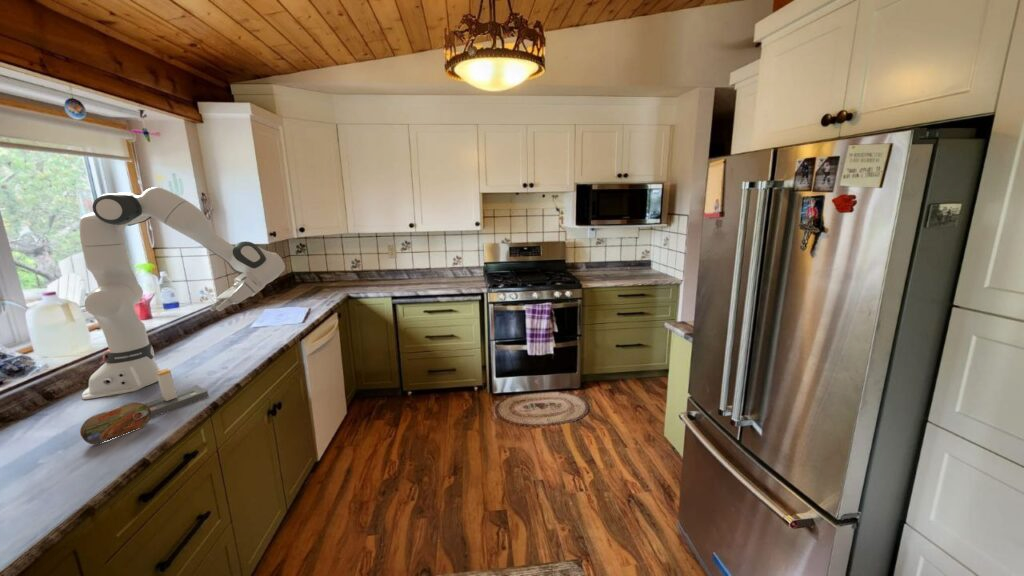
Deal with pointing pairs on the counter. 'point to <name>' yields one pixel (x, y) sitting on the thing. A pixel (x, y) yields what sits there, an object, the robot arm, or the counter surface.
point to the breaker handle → (166, 384)
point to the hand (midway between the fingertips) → (214, 309)
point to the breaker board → (176, 400)
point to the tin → (115, 422)
